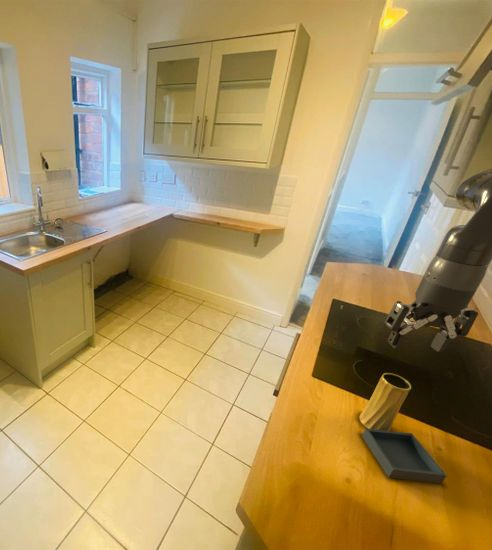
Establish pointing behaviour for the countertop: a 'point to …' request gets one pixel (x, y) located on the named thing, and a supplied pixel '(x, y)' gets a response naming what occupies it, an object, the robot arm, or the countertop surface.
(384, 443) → the tray
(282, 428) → the countertop surface
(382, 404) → the vase
